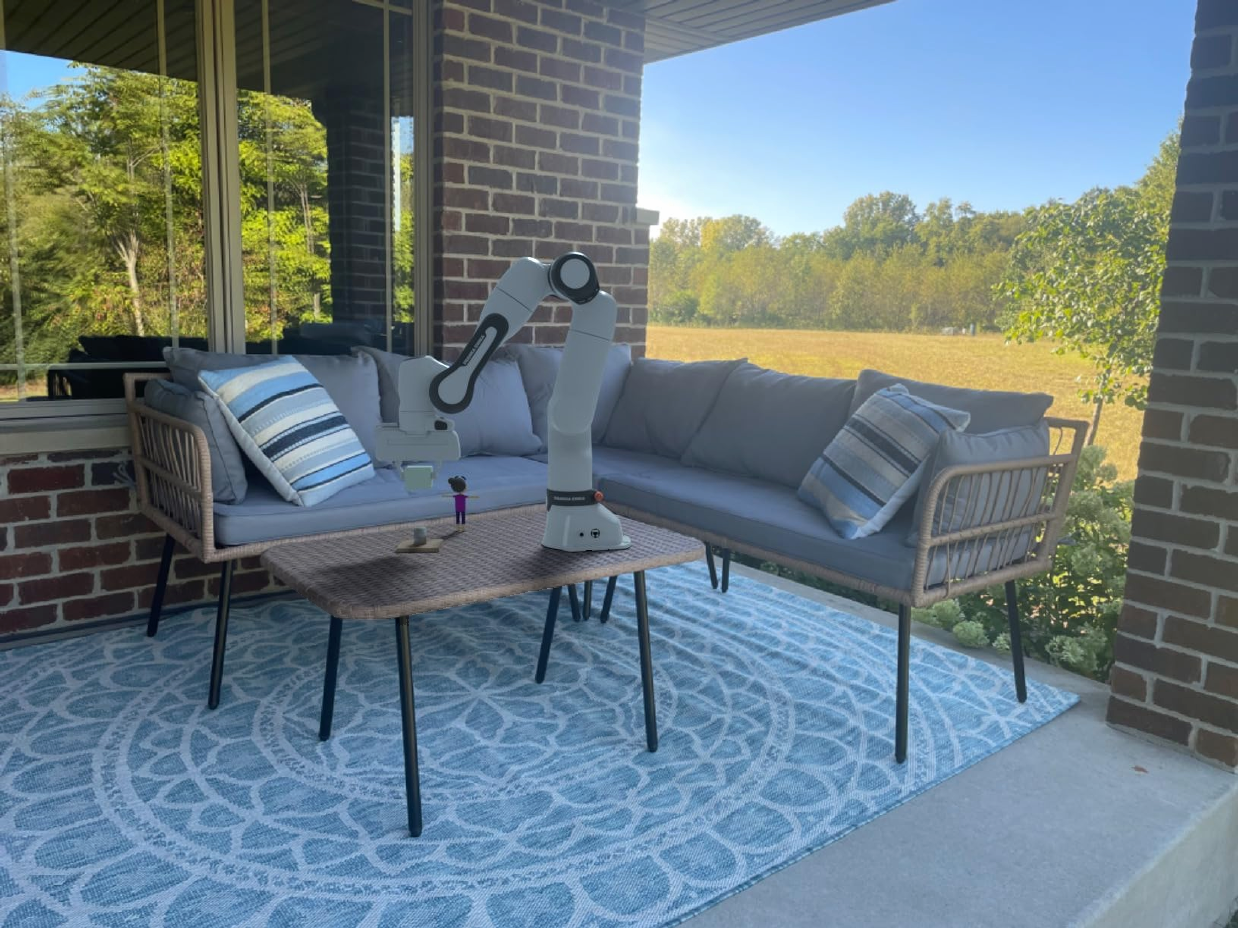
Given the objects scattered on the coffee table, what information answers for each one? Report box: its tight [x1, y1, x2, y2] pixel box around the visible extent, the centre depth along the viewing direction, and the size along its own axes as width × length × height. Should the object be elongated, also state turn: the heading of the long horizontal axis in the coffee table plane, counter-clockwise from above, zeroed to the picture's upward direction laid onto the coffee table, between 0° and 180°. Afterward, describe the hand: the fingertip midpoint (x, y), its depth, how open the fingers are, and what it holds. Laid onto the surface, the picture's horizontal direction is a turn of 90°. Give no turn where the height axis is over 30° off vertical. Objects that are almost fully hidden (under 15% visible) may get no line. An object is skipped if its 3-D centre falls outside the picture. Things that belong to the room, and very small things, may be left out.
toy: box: [441, 475, 480, 532], centre depth 239 cm, size 10×6×15 cm, turn 82°
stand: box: [396, 526, 444, 553], centre depth 220 cm, size 10×10×5 cm
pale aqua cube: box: [403, 465, 434, 491], centre depth 218 cm, size 6×6×5 cm
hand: (419, 479), depth 218 cm, fingers closed on pale aqua cube, 6 cm apart
